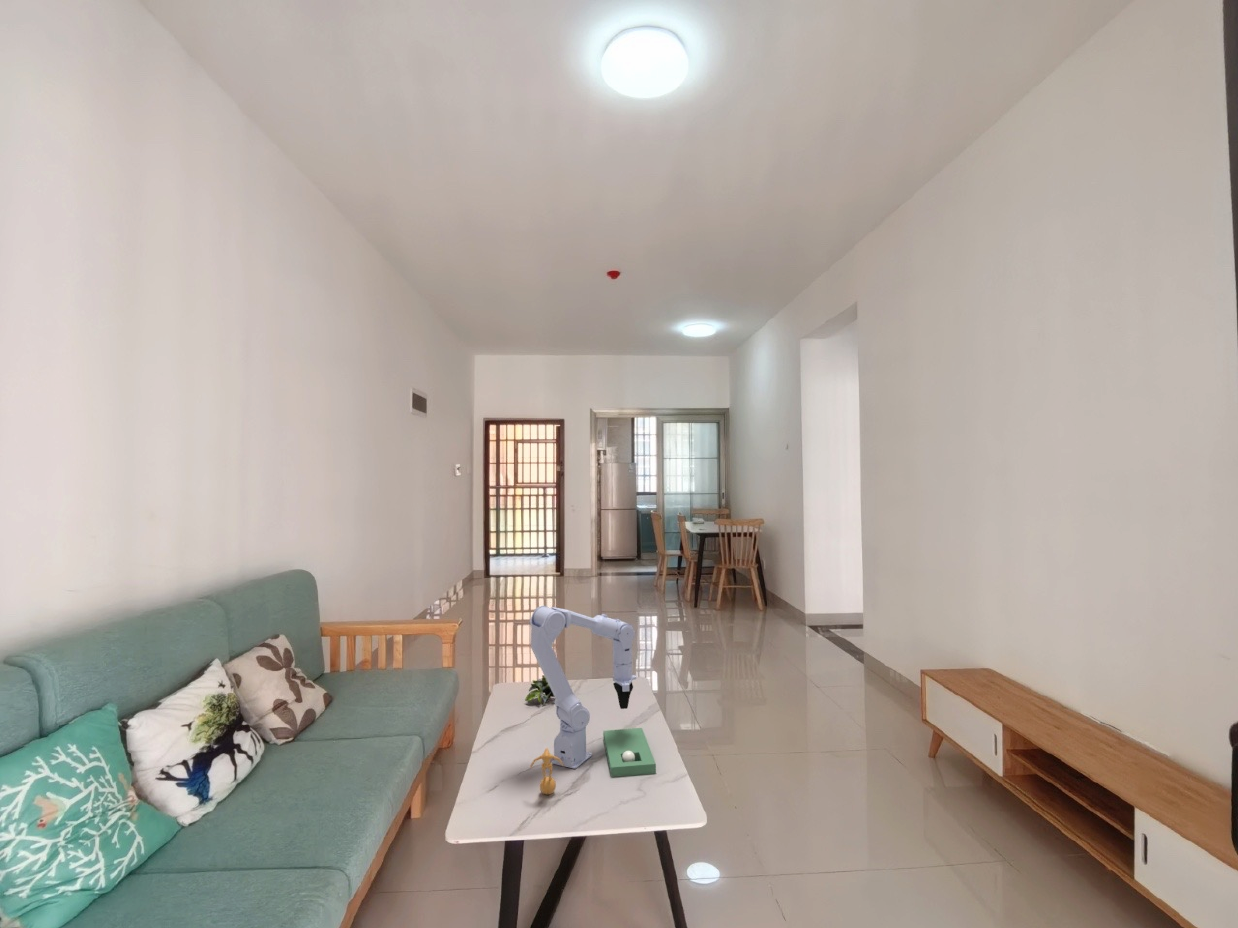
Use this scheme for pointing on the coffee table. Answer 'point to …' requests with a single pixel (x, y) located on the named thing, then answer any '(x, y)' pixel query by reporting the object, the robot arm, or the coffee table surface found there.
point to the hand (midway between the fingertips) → (623, 707)
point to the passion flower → (540, 690)
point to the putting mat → (624, 742)
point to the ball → (628, 756)
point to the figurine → (547, 782)
